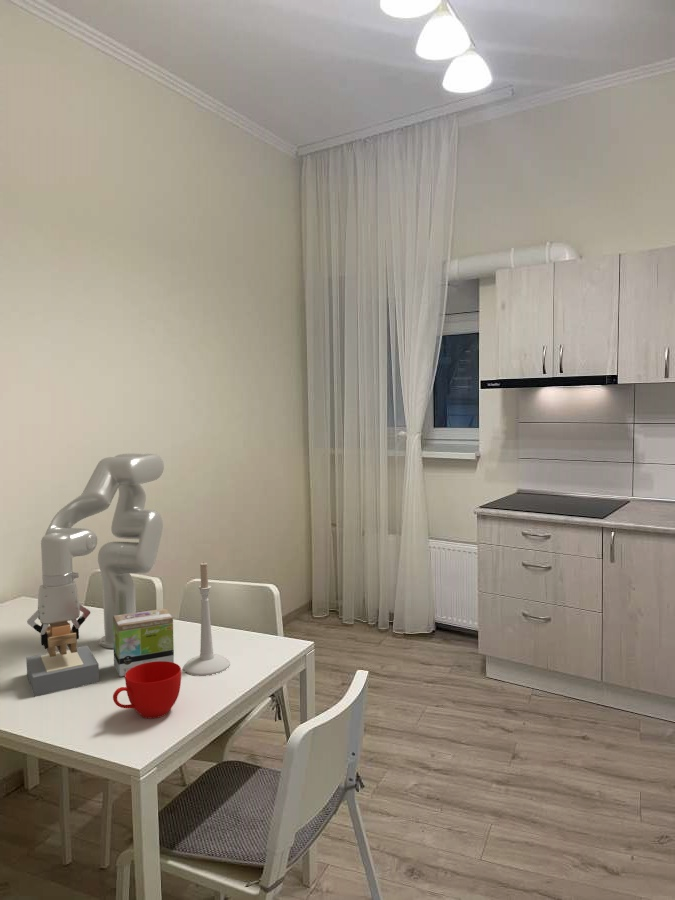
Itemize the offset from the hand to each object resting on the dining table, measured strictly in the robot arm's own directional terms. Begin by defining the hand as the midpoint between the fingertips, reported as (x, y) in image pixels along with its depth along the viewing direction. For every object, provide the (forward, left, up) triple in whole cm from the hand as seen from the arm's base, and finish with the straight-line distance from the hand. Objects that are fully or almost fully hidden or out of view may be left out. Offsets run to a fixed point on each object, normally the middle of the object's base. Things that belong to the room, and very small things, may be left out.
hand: (60, 644), depth 177 cm
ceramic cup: (-14, +34, -10) cm, 38 cm away
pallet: (0, 0, -1) cm, 1 cm away
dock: (0, 0, -10) cm, 10 cm away
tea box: (-21, +4, -10) cm, 24 cm away
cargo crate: (0, 0, +3) cm, 3 cm away
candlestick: (-36, +14, -10) cm, 40 cm away
